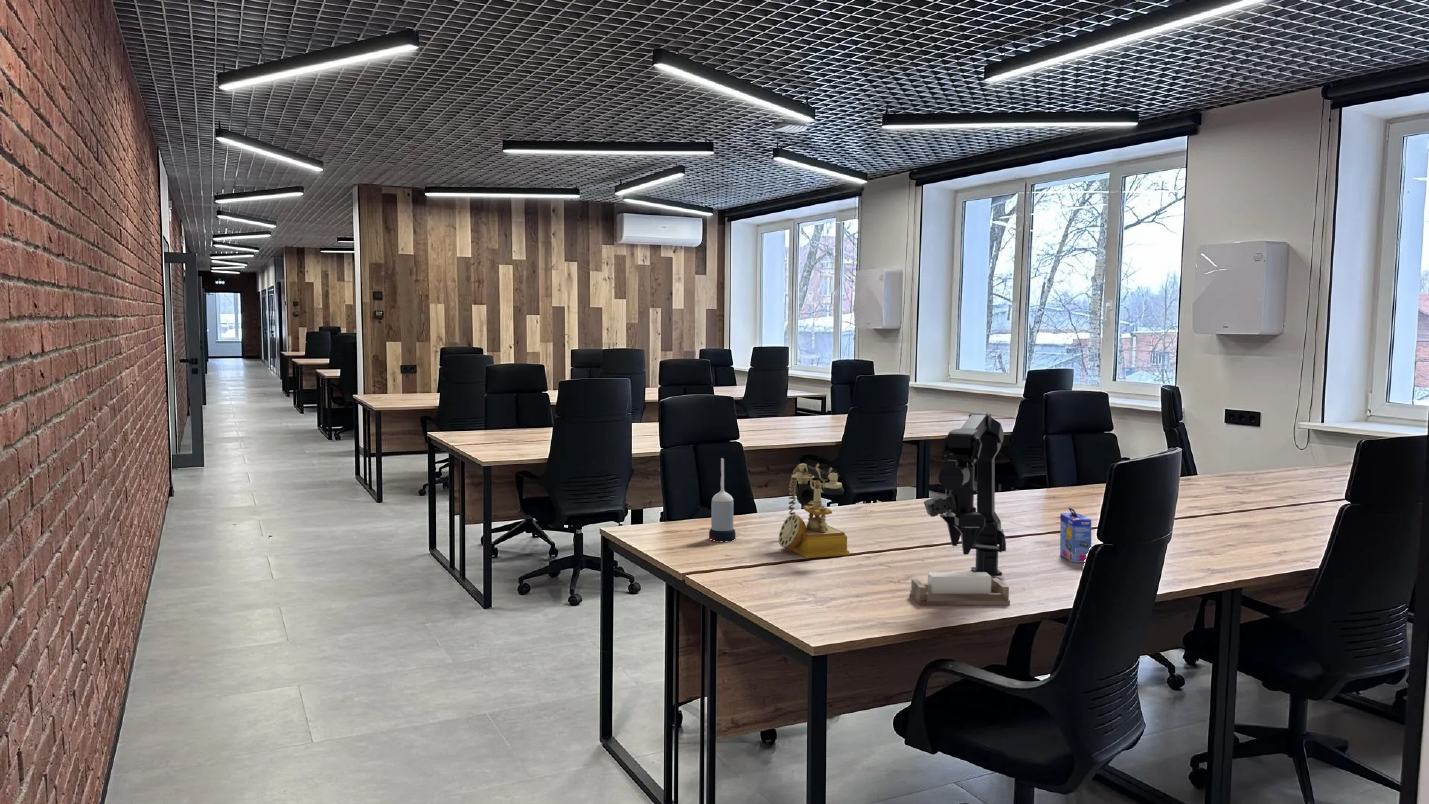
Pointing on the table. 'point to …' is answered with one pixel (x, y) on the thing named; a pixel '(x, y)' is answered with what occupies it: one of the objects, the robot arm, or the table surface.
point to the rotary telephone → (816, 534)
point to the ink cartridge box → (1074, 536)
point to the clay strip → (959, 582)
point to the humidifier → (722, 514)
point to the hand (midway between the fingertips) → (960, 550)
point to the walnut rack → (961, 595)
